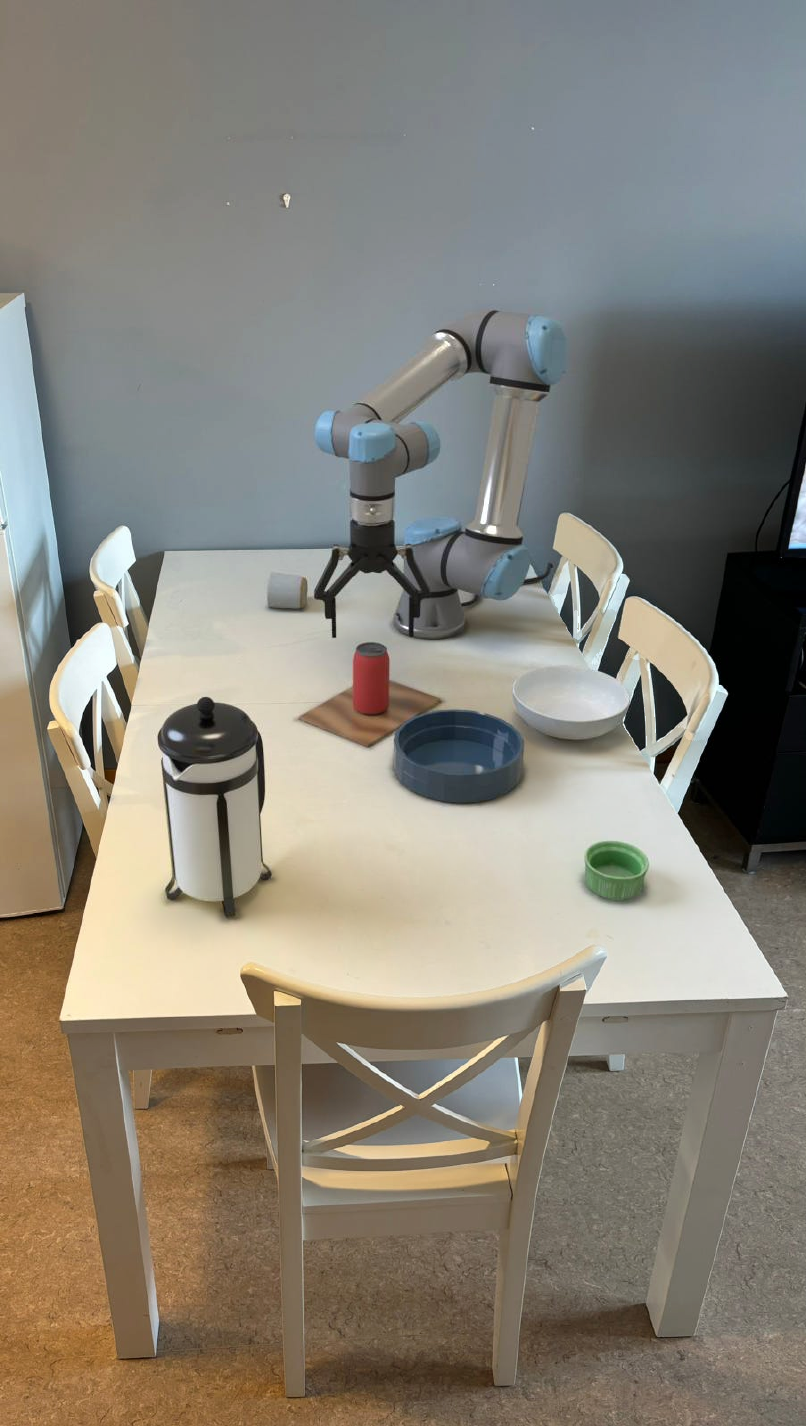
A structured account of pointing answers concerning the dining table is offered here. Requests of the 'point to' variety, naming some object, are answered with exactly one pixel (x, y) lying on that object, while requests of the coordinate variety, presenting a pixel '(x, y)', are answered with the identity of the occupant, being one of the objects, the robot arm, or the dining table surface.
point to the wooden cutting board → (369, 728)
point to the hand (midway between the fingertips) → (372, 634)
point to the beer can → (371, 678)
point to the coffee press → (213, 801)
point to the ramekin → (615, 869)
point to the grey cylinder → (286, 591)
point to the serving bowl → (570, 701)
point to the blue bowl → (458, 755)
